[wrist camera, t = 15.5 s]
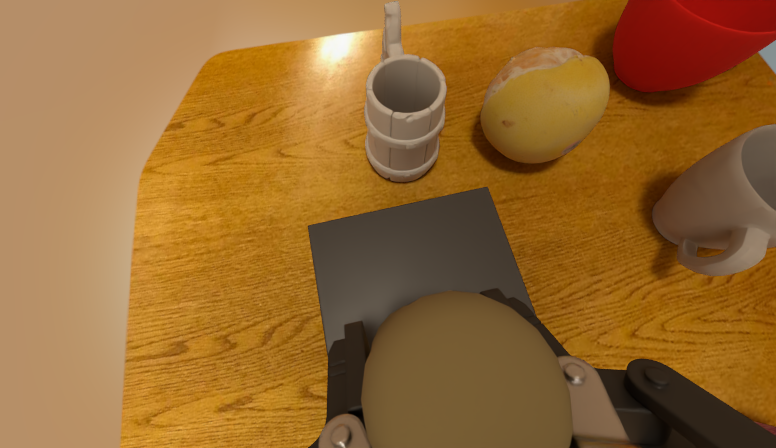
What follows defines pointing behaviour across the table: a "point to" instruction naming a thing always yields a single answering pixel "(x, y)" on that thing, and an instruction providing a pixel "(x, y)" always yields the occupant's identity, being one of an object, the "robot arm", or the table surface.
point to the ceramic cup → (688, 40)
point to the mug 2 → (724, 205)
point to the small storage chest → (409, 259)
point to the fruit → (544, 103)
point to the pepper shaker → (463, 379)
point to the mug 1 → (403, 108)
